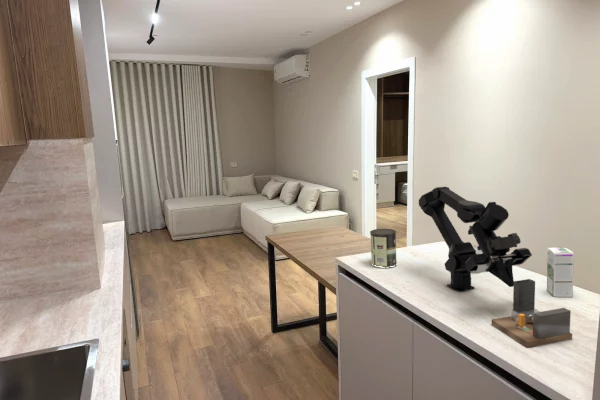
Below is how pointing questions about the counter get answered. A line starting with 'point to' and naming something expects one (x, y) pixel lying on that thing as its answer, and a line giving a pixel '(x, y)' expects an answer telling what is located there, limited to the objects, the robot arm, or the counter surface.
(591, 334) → the counter surface
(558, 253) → the syrup box
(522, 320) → the cylinder
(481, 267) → the grey block
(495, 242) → the robot arm
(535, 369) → the counter surface
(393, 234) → the coffee can
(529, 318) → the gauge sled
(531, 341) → the base
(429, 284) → the counter surface
